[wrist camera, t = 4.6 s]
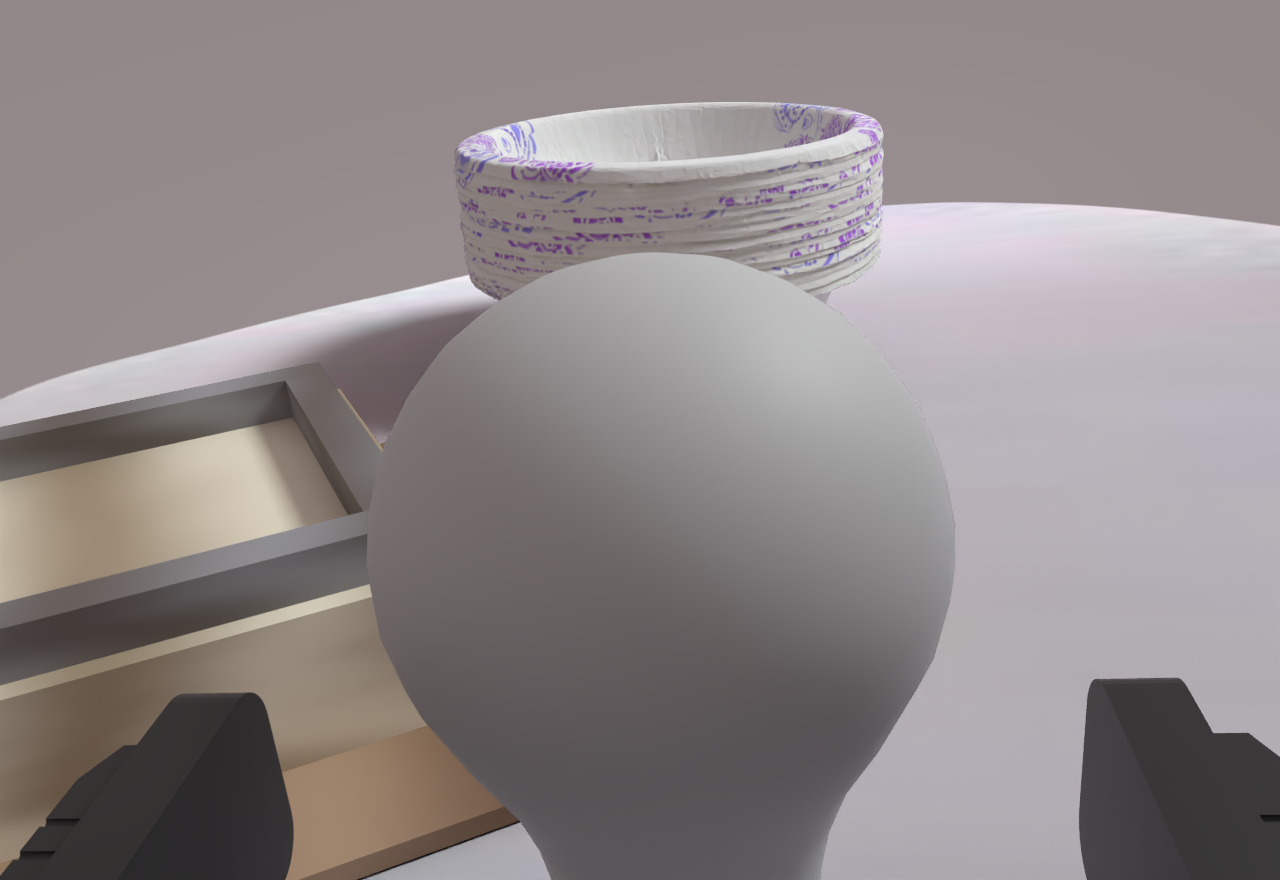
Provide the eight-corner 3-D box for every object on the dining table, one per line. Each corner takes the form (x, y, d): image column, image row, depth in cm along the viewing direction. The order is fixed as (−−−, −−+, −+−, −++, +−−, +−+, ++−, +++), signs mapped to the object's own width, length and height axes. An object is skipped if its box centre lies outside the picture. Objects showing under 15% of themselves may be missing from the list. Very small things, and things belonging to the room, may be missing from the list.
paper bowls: (972, 330, 43) (978, 105, 40) (625, 449, 36) (600, 183, 33) (715, 264, 55) (705, 86, 52) (413, 342, 48) (380, 140, 45)
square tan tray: (435, 443, 37) (413, 307, 36) (699, 755, 22) (683, 543, 20) (-239, 602, 31) (-304, 446, 29) (-528, 1200, 16) (-700, 942, 14)
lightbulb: (502, 914, 19) (390, 219, 15) (895, 892, 19) (894, 178, 14) (436, 1330, 13) (222, 393, 9) (999, 1308, 13) (1047, 332, 9)
